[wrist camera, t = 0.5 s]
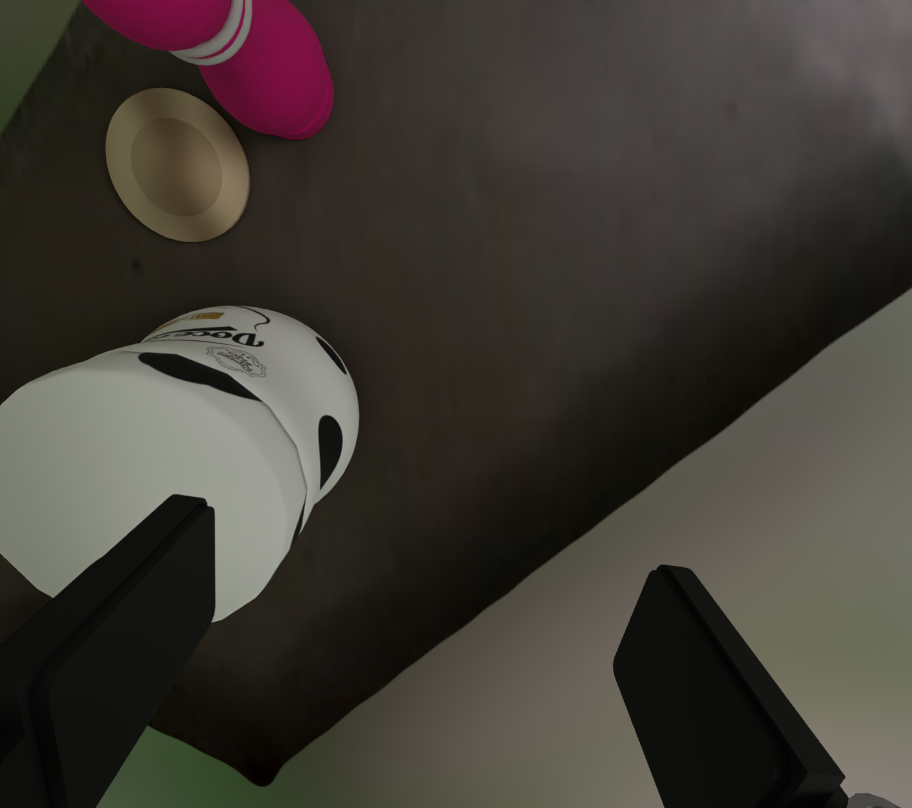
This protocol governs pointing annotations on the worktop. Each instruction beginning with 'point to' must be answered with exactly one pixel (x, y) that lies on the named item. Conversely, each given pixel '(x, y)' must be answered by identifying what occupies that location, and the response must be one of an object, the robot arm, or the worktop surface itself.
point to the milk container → (178, 446)
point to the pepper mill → (239, 56)
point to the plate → (177, 165)
